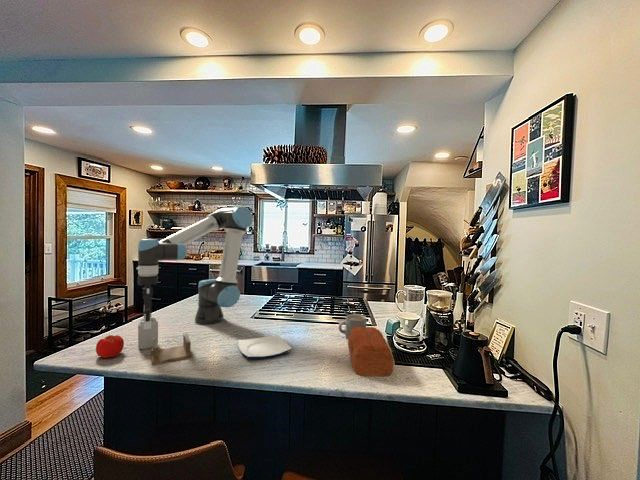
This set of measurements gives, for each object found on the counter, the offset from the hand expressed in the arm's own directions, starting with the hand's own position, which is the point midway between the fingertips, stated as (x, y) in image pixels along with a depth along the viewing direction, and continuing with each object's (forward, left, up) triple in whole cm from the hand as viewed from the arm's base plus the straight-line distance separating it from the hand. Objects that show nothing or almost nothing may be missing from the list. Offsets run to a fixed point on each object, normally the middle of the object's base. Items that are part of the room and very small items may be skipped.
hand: (147, 324), depth 127 cm
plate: (-43, +26, -11) cm, 52 cm away
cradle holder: (-8, +14, -10) cm, 19 cm away
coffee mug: (-86, +32, -10) cm, 93 cm away
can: (0, 0, -10) cm, 10 cm away
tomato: (+13, +3, -10) cm, 17 cm away
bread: (-77, +55, -11) cm, 95 cm away
